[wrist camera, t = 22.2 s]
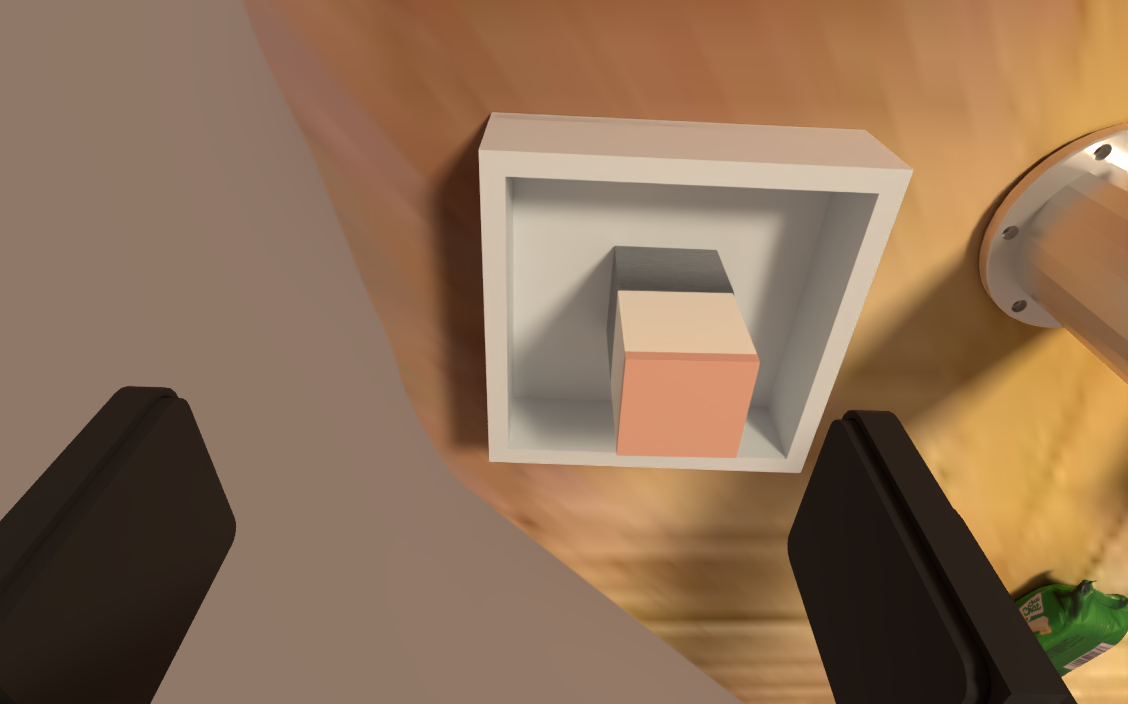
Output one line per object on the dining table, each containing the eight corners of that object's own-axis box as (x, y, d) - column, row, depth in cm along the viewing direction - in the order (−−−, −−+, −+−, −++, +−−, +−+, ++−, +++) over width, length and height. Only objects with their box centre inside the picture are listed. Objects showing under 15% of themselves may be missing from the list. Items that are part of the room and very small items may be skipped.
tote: (865, 129, 34) (913, 169, 30) (776, 411, 46) (800, 473, 41) (491, 112, 34) (478, 149, 29) (498, 400, 46) (489, 461, 41)
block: (716, 249, 38) (734, 293, 34) (699, 334, 41) (714, 383, 37) (614, 245, 37) (619, 289, 33) (606, 330, 41) (610, 379, 37)
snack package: (1124, 571, 57) (1169, 625, 53) (997, 658, 66) (1027, 711, 61) (1061, 552, 56) (1102, 606, 51) (940, 644, 64) (966, 697, 60)
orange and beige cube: (732, 293, 33) (760, 362, 29) (714, 383, 37) (736, 458, 32) (617, 290, 33) (625, 359, 29) (610, 380, 37) (616, 455, 32)
